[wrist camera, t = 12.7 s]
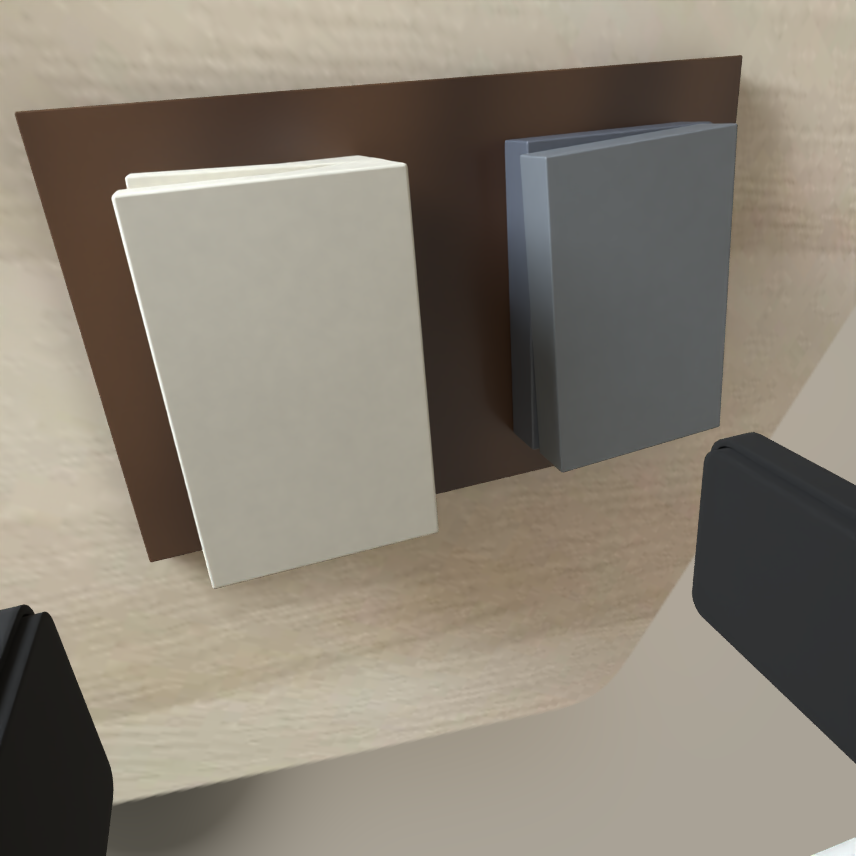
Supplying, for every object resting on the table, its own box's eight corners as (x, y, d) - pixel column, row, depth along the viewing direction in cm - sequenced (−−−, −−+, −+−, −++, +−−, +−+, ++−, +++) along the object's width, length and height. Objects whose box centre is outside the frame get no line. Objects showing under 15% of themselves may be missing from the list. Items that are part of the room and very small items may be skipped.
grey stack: (681, 121, 25) (753, 120, 22) (662, 403, 30) (719, 434, 27) (496, 140, 23) (545, 142, 20) (506, 437, 28) (548, 476, 25)
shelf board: (720, 58, 26) (743, 55, 25) (689, 420, 32) (706, 429, 31) (21, 112, 20) (13, 112, 19) (151, 545, 26) (150, 563, 25)
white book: (393, 160, 19) (408, 162, 17) (425, 511, 23) (439, 533, 22) (115, 190, 17) (110, 195, 16) (210, 564, 21) (212, 590, 20)
